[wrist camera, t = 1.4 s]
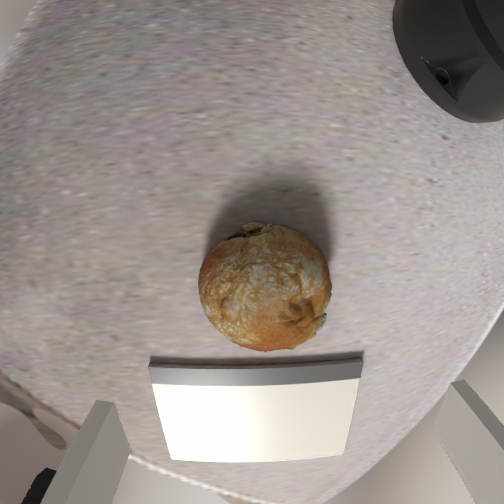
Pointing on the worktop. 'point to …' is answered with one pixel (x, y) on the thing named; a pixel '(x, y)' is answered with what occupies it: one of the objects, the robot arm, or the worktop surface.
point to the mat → (256, 409)
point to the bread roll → (265, 287)
